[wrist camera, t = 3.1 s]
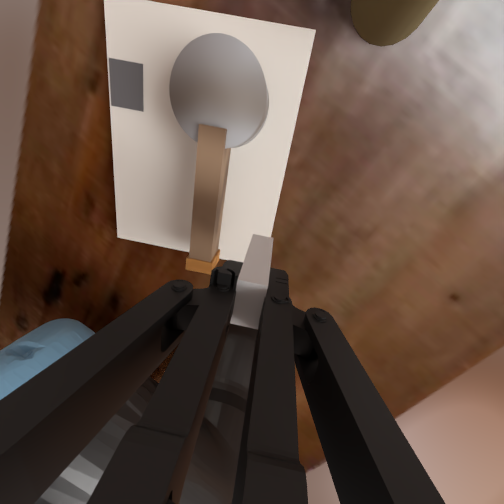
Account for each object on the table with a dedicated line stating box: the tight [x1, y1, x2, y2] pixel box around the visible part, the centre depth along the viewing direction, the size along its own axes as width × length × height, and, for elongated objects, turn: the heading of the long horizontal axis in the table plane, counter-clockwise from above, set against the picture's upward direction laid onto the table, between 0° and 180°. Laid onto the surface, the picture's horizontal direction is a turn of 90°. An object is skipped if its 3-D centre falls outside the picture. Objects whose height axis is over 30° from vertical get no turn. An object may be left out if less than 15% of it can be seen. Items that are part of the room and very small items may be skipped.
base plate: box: [104, 0, 316, 262], centre depth 24 cm, size 21×17×2 cm
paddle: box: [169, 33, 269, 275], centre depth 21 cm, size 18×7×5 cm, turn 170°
